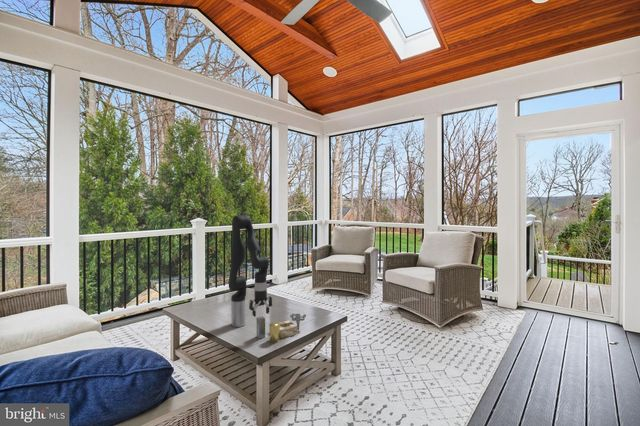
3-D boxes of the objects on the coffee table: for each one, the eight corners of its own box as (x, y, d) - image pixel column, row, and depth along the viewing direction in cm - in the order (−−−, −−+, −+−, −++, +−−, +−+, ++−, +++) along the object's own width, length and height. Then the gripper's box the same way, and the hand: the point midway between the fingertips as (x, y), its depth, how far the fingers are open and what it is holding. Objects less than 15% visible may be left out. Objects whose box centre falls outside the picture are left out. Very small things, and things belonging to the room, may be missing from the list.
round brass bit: (268, 339, 194) (267, 323, 193) (276, 337, 197) (276, 321, 197) (272, 343, 189) (272, 326, 188) (281, 340, 192) (281, 324, 192)
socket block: (271, 331, 205) (271, 324, 205) (288, 327, 212) (288, 320, 211) (280, 338, 195) (280, 330, 195) (297, 333, 202) (297, 326, 202)
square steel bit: (256, 336, 198) (256, 317, 197) (262, 334, 200) (262, 316, 200) (259, 338, 195) (259, 319, 194) (265, 337, 197) (265, 318, 196)
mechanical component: (305, 329, 208) (305, 314, 207) (290, 330, 207) (290, 315, 207) (305, 328, 211) (305, 313, 210) (290, 328, 210) (290, 313, 210)
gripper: (268, 285, 203) (268, 310, 204) (247, 289, 195) (247, 315, 196) (273, 288, 197) (274, 314, 198) (252, 292, 189) (252, 319, 190)
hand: (260, 314), depth 197 cm, fingers open, 8 cm apart
